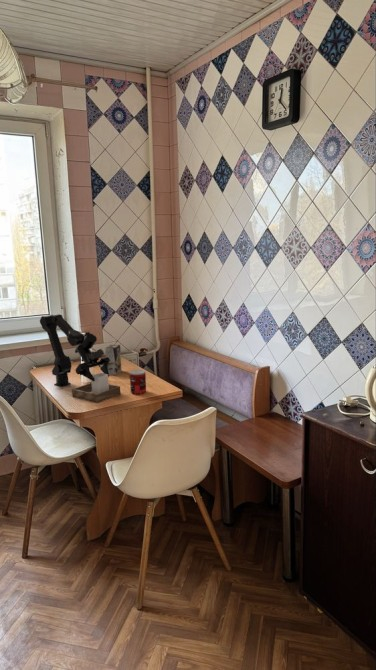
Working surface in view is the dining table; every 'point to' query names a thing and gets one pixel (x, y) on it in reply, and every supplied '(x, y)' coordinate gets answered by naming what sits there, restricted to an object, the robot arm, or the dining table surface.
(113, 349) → the coffee box
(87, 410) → the dining table surface
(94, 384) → the light grey block
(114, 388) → the walnut crate
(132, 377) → the canned food
